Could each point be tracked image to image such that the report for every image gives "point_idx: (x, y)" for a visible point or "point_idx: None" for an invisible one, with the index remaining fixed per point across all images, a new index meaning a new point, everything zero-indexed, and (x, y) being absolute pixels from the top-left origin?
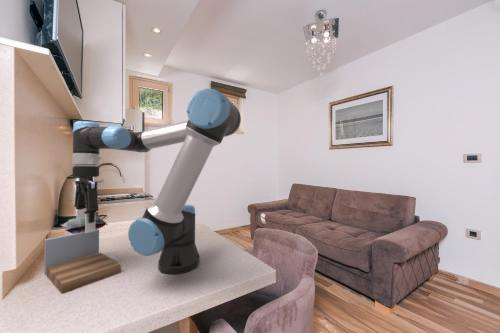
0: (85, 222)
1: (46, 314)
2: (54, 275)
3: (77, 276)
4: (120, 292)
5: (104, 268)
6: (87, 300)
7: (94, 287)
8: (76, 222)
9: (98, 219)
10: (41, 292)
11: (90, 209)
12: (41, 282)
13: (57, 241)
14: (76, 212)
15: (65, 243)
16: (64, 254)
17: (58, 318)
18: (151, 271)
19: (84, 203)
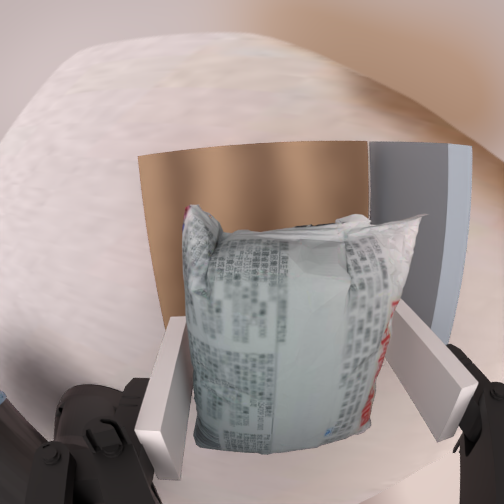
0: (168, 364)
1: (62, 120)
2: (245, 144)
3: (162, 205)
4: (47, 278)
5: (166, 291)
6: (58, 206)
7: (119, 237)
8: (201, 313)
9: (208, 439)
10: (215, 109)
11: (35, 463)
12: (308, 119)
13: (436, 192)
14: (464, 367)
15: (424, 223)
16: (397, 207)
17: (28, 144)
18: (116, 375)
19: (466, 476)
